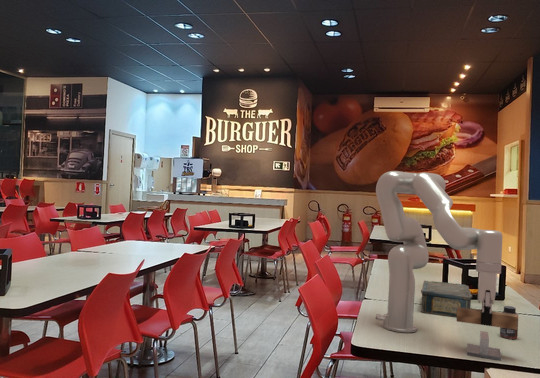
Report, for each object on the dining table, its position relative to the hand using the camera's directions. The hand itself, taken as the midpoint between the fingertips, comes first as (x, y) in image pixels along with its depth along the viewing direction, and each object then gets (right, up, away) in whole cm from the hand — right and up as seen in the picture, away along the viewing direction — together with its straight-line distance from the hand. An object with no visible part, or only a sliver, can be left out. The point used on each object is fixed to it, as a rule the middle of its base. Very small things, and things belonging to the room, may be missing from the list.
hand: (485, 322), depth 161 cm
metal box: (+9, -11, +65) cm, 66 cm away
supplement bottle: (+18, -11, +22) cm, 30 cm away
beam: (0, 0, 0) cm, 0 cm away
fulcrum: (-1, -10, 0) cm, 10 cm away
